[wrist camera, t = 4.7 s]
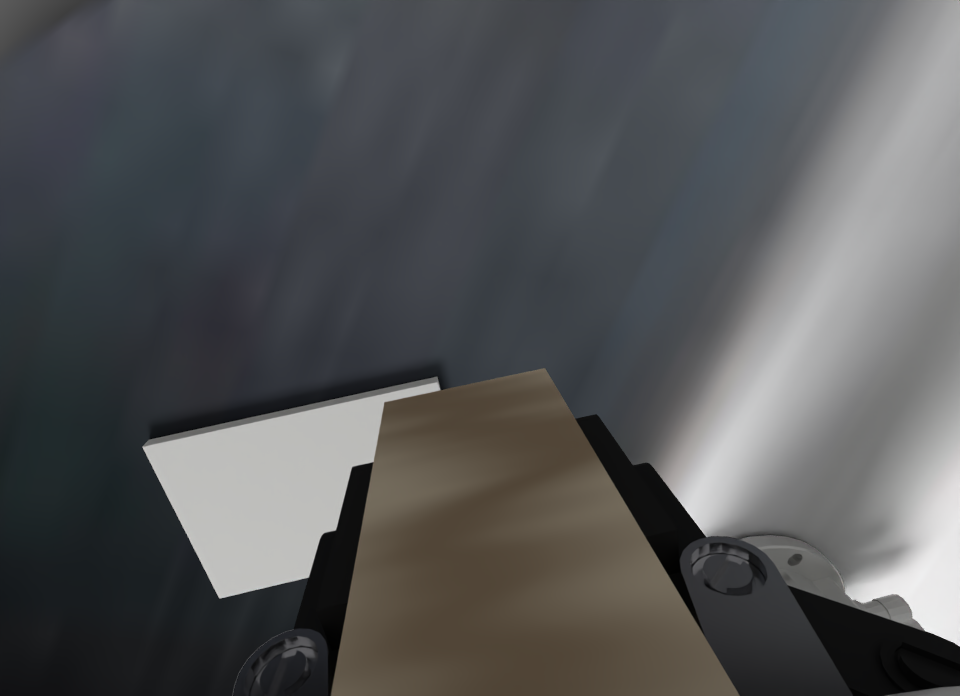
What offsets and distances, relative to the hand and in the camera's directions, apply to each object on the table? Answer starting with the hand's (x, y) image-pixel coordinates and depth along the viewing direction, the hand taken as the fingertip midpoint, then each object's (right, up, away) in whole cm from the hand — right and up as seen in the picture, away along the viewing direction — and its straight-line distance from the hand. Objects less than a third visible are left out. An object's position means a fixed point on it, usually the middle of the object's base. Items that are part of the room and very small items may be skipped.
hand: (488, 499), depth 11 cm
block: (0, +1, +2) cm, 2 cm away
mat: (-8, -3, +13) cm, 16 cm away
